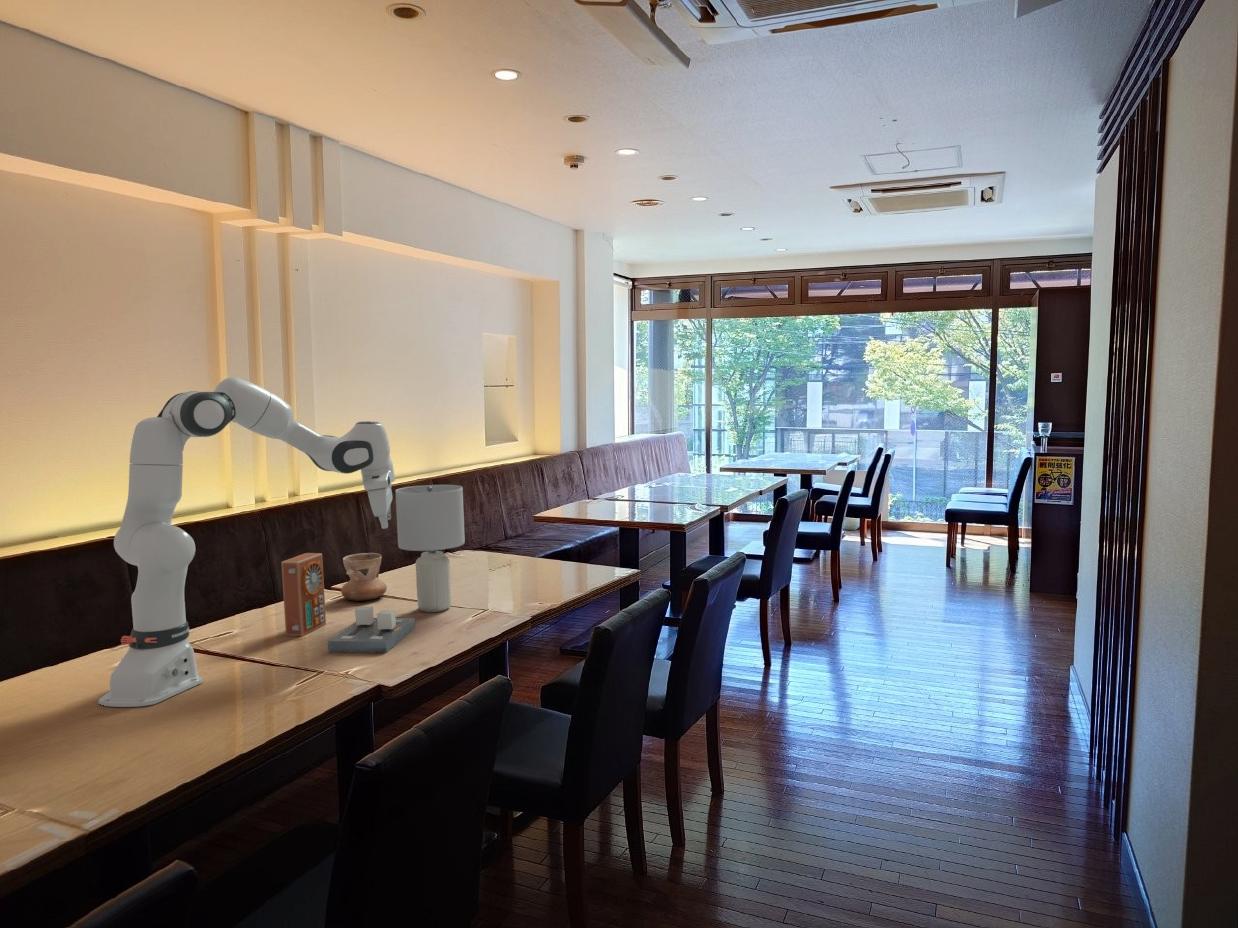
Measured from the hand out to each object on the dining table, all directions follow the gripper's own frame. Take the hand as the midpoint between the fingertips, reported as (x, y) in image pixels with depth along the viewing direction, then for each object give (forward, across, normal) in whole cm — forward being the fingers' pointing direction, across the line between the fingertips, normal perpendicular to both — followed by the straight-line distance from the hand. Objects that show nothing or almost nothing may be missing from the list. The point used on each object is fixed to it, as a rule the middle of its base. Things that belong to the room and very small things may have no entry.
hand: (386, 523), depth 239 cm
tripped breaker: (+26, +14, -3) cm, 30 cm away
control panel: (+29, -2, -28) cm, 40 cm away
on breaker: (+26, +8, -10) cm, 29 cm away
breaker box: (+29, +13, -7) cm, 33 cm away
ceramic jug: (+33, -36, -16) cm, 51 cm away
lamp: (+34, -15, +8) cm, 38 cm away
